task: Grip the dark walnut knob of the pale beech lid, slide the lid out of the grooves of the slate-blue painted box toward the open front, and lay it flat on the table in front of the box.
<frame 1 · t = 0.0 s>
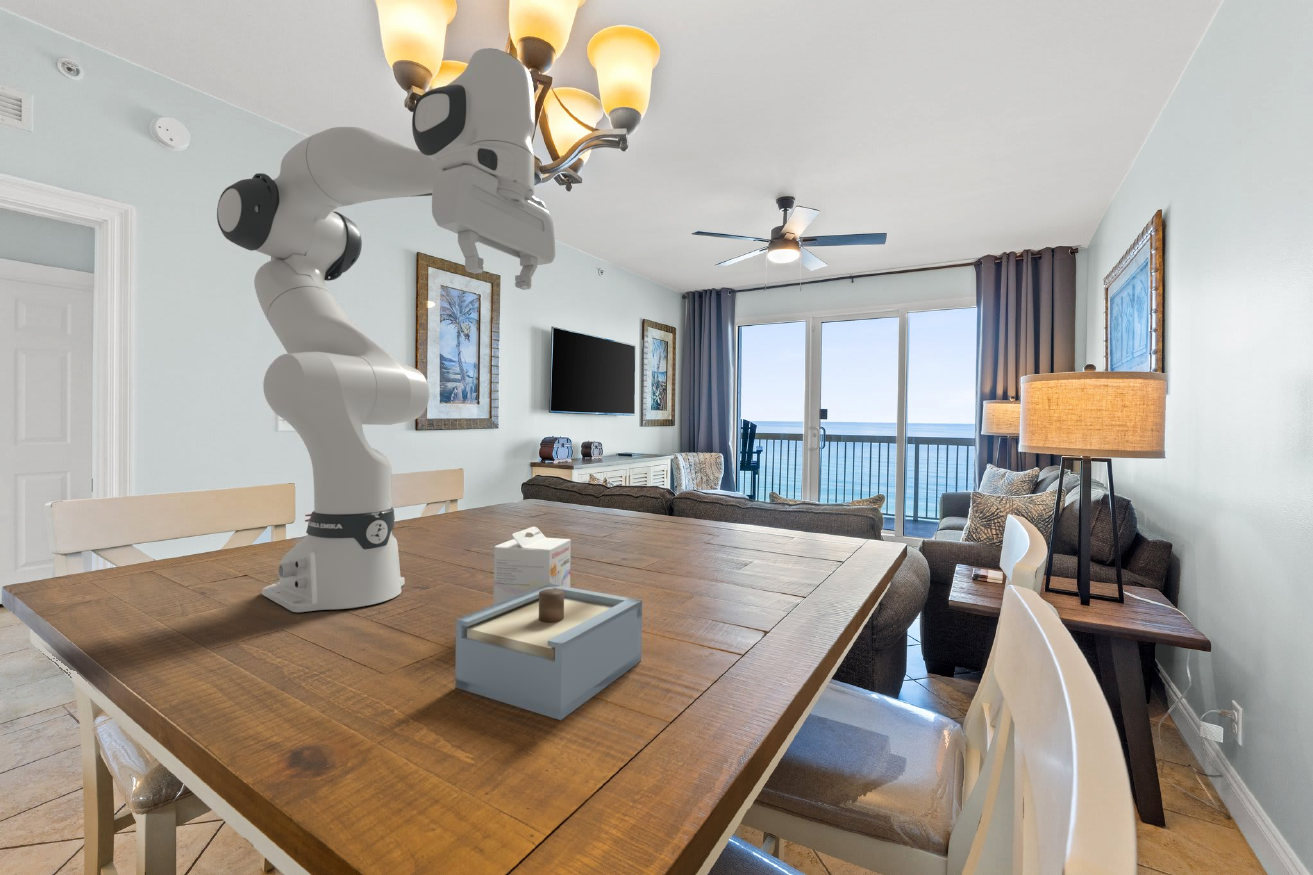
hand: (500, 280, 77), 48 cm above the table, fingers open, 8 cm apart
ink box: (533, 624, 82), on the table
lid: (551, 627, 64), point 5 cm above the table, touching box
box: (553, 673, 65), on the table
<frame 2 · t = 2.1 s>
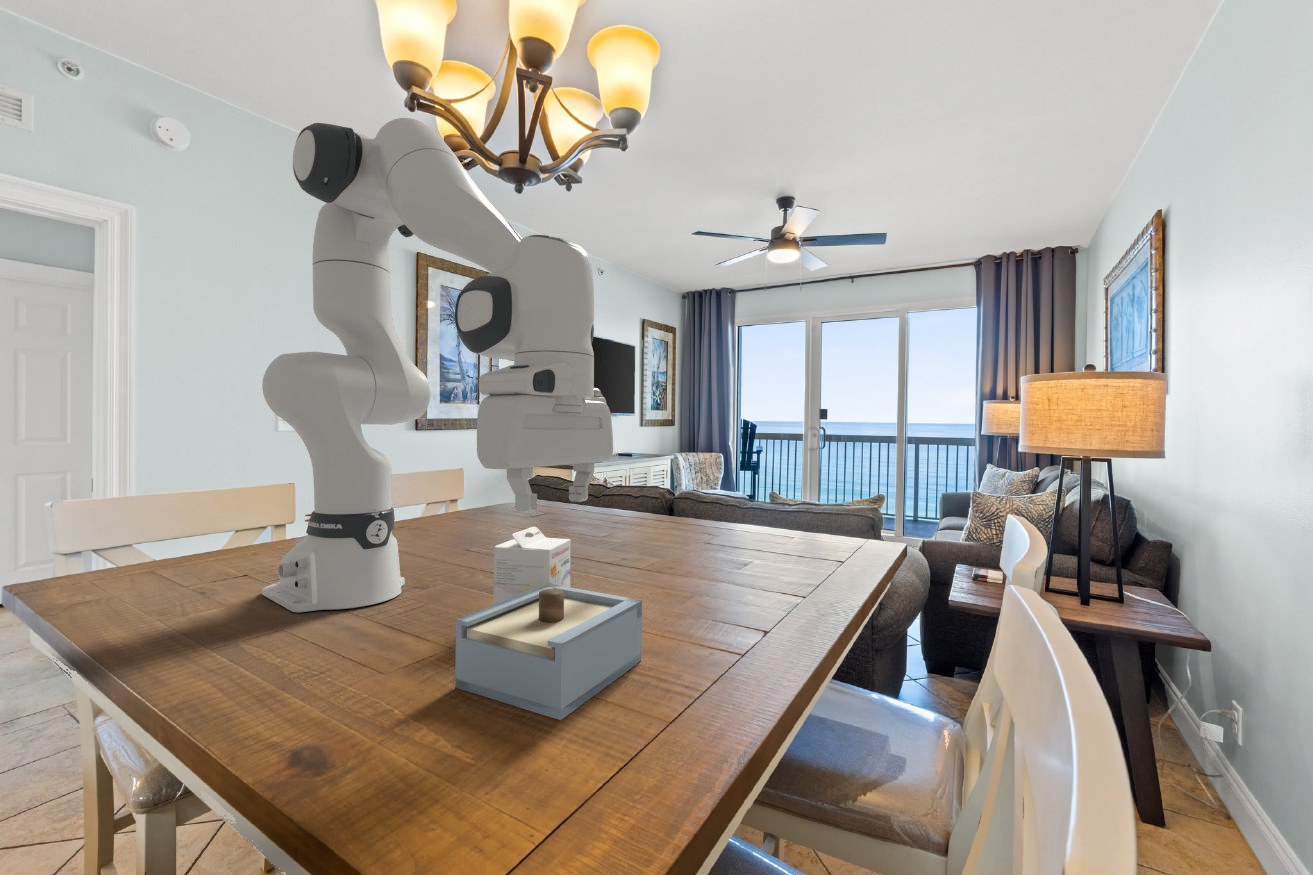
hand: (554, 505, 64), 19 cm above the table, fingers open, 8 cm apart
nothing on the table moved.
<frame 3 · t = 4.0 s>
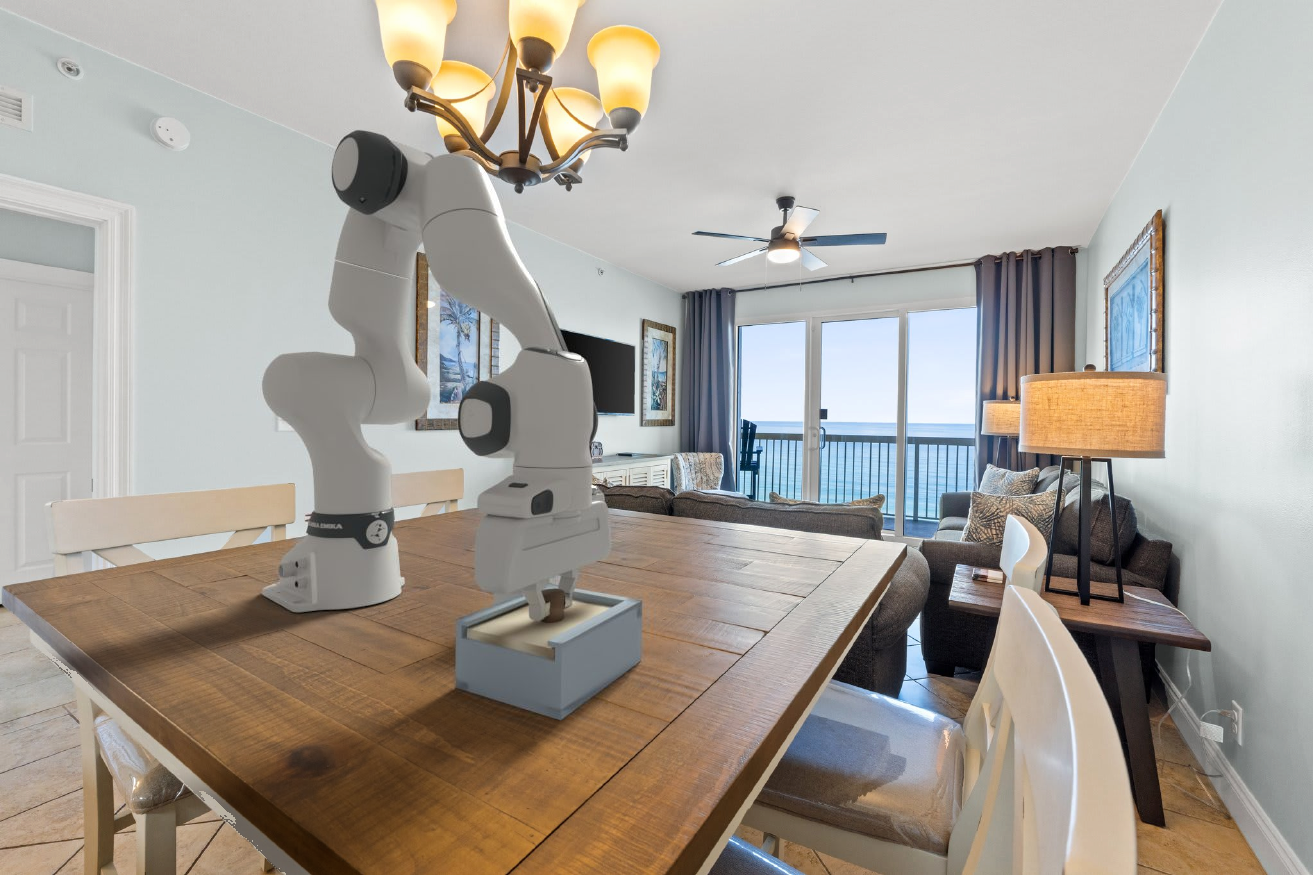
hand: (551, 613, 64), 7 cm above the table, fingers closed on lid, 3 cm apart
lid: (551, 627, 64), point 5 cm above the table, touching box, gripper
everything else where it was.
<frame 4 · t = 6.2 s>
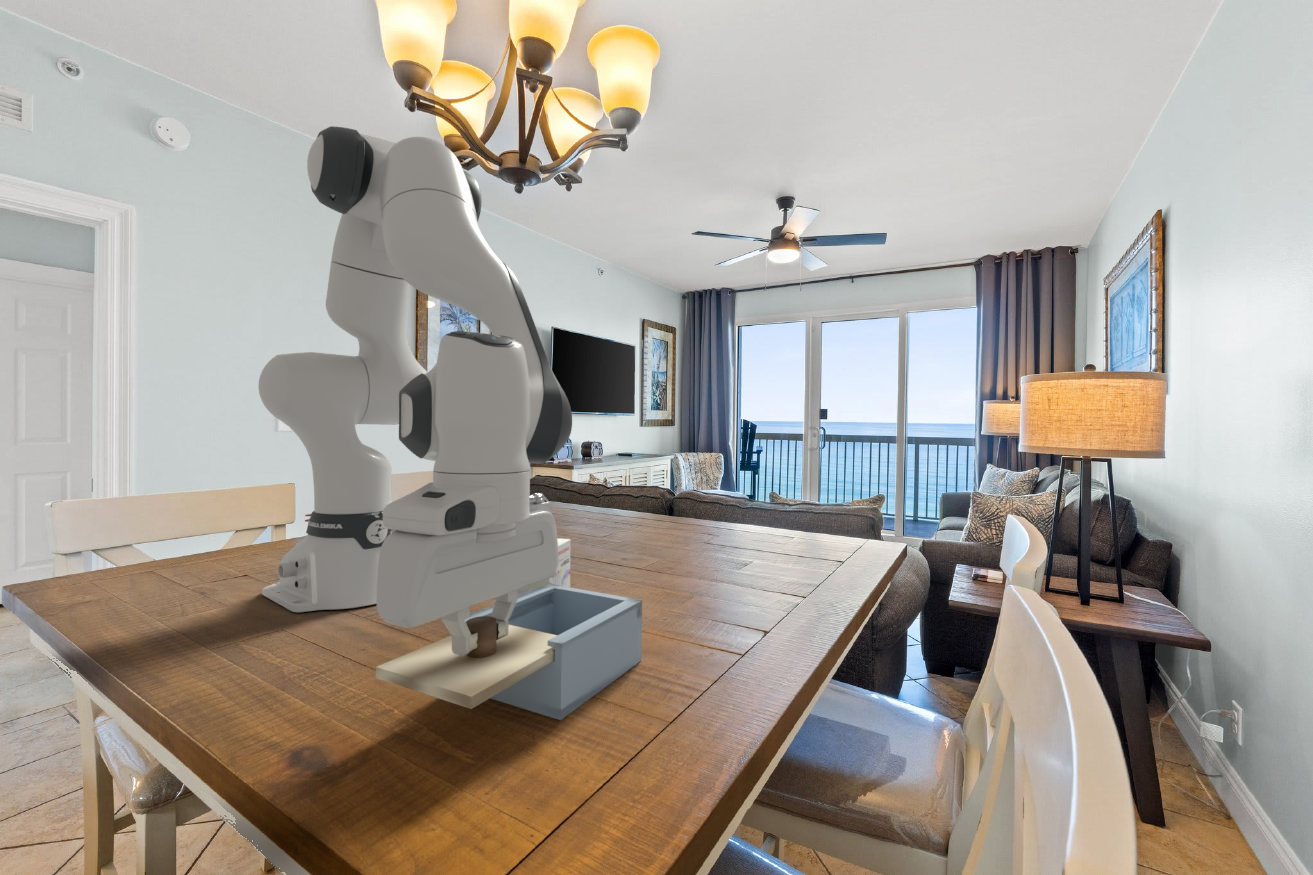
hand: (481, 644, 54), 7 cm above the table, fingers closed on lid, 3 cm apart
lid: (481, 662, 54), point 5 cm above the table, touching gripper
everything else where it was.
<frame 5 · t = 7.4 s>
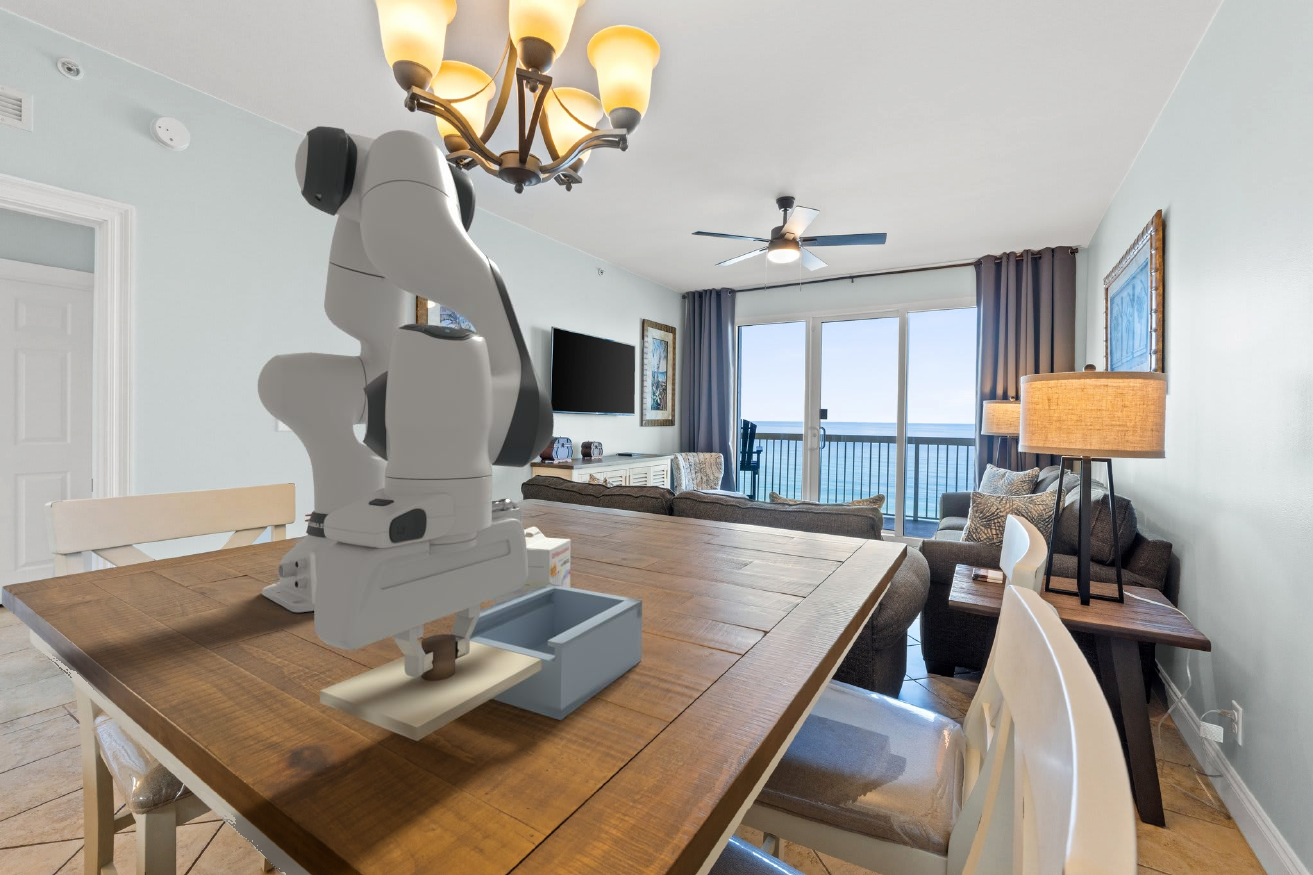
hand: (438, 664, 50), 7 cm above the table, fingers closed on lid, 3 cm apart
lid: (438, 684, 50), point 5 cm above the table, touching gripper
everything else where it was.
when the fingers open (3 cm above the table, at t = 8.6 s): lid drops 2 cm, on the table.
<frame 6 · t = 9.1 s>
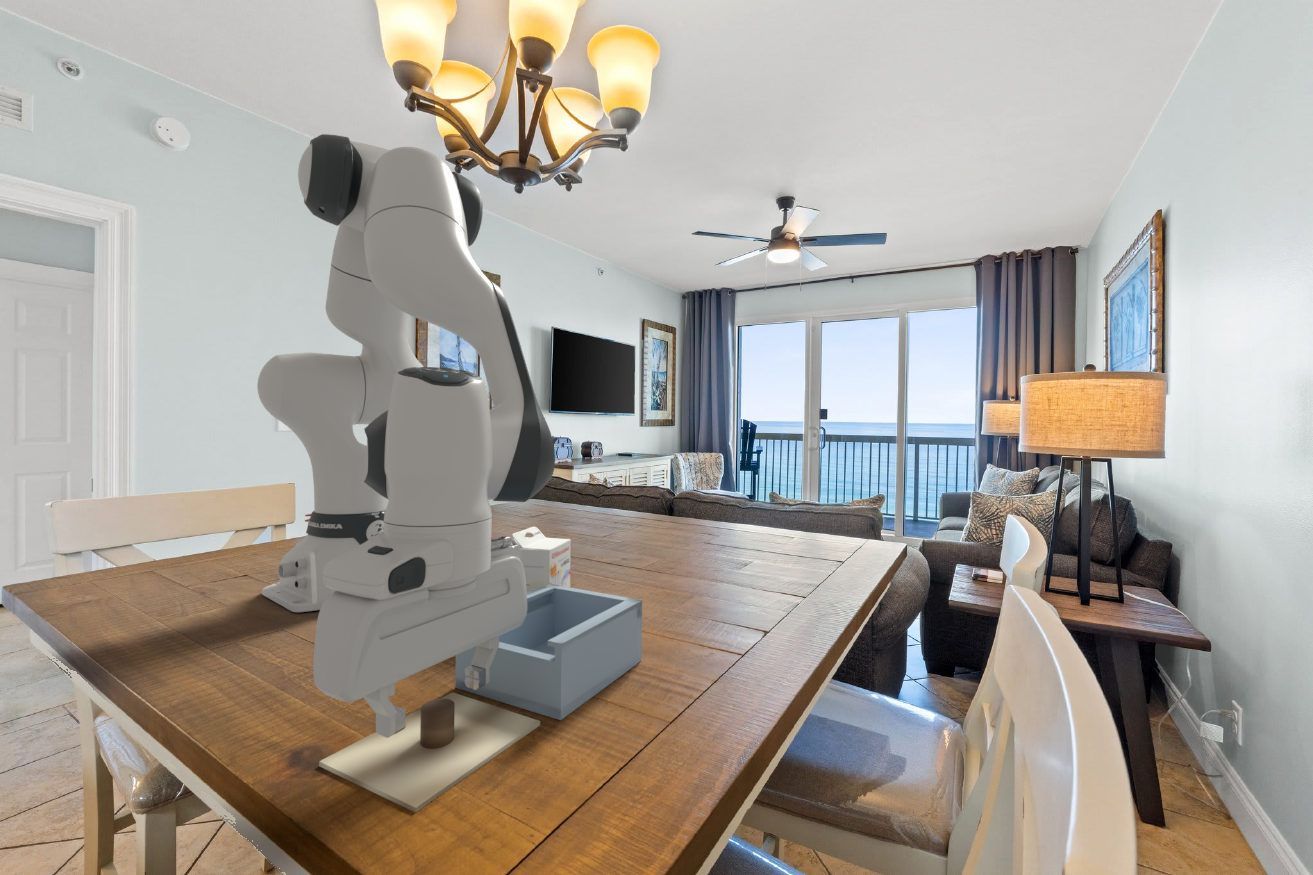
hand: (437, 707, 50), 3 cm above the table, fingers open, 8 cm apart
lid: (437, 750, 50), on the table
everything else where it was.
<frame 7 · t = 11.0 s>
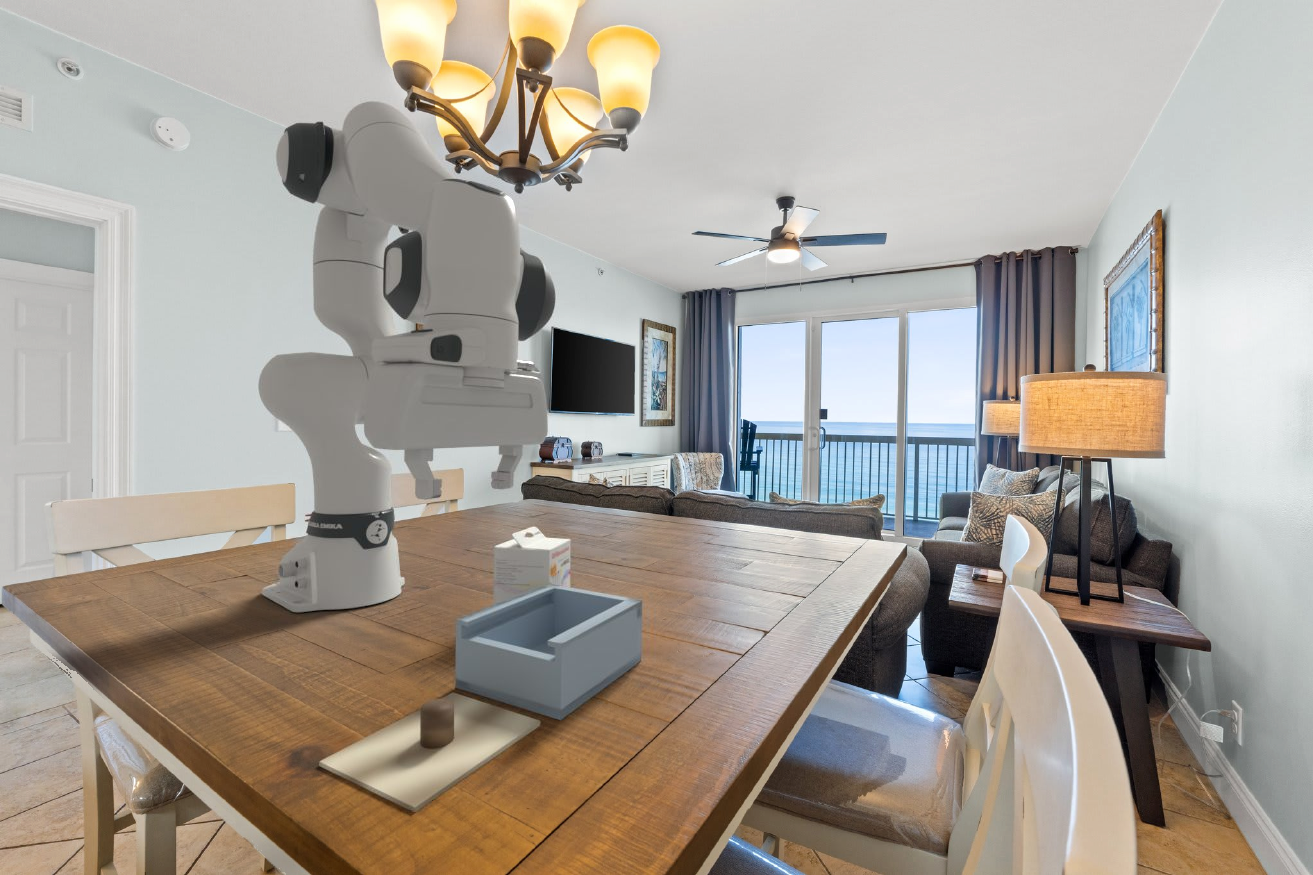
hand: (467, 493, 56), 22 cm above the table, fingers open, 8 cm apart
nothing on the table moved.
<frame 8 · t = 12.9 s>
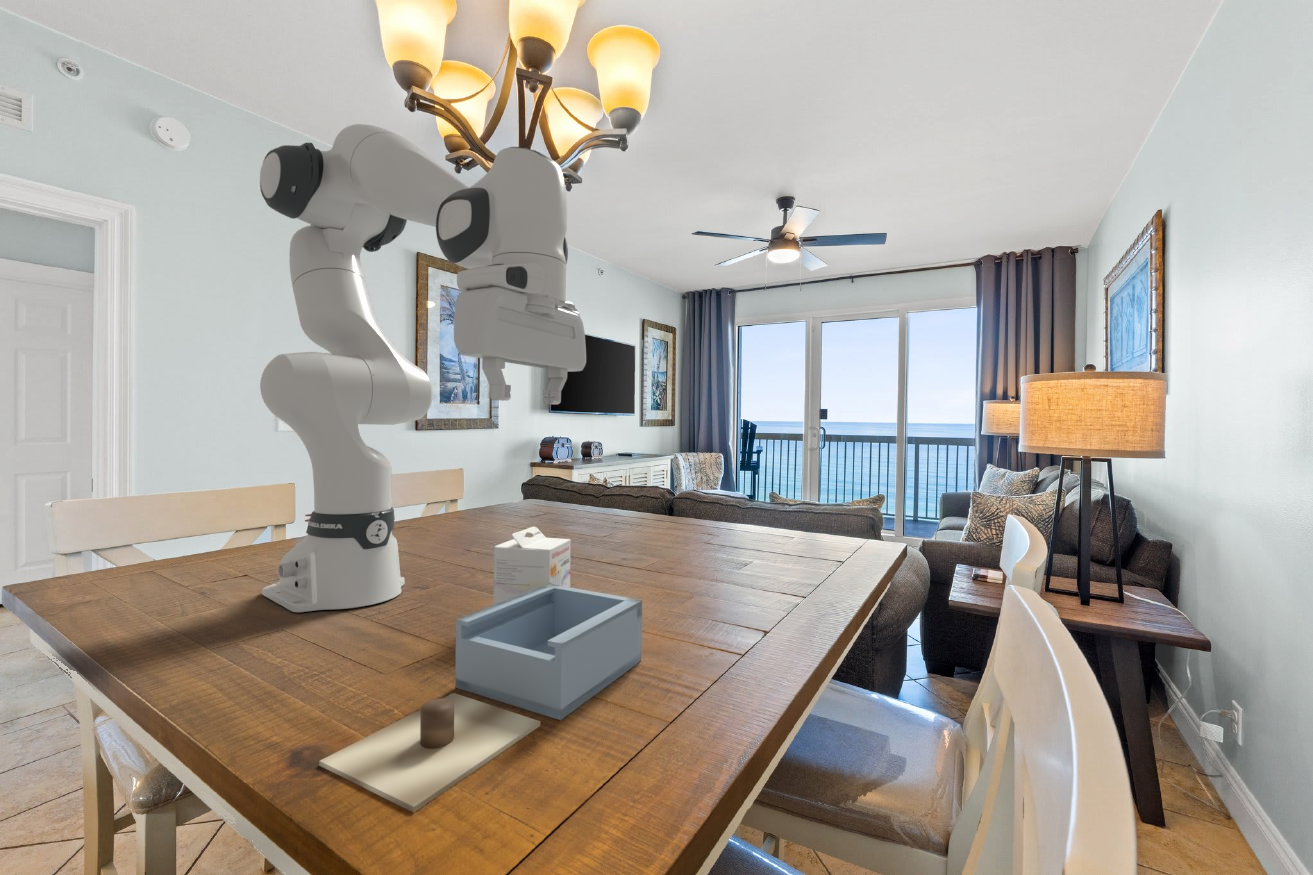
hand: (527, 402, 69), 31 cm above the table, fingers open, 8 cm apart
nothing on the table moved.
at the end: lid inside the target area on the table beside the box (2.5 cm from its centre), on the table; lid tilted 0°; the gripper is holding nothing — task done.
